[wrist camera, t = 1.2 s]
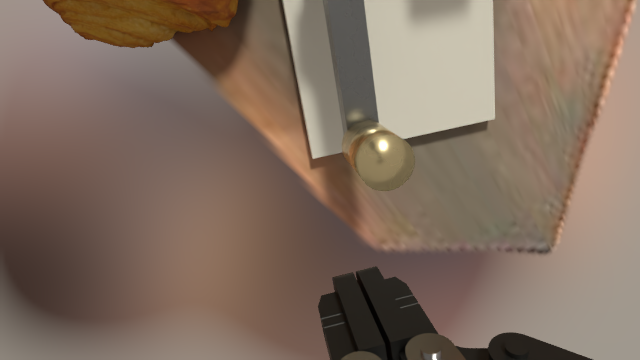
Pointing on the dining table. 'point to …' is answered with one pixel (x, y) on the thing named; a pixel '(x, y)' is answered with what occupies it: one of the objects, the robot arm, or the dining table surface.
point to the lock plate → (400, 66)
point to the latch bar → (363, 101)
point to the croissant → (141, 18)
